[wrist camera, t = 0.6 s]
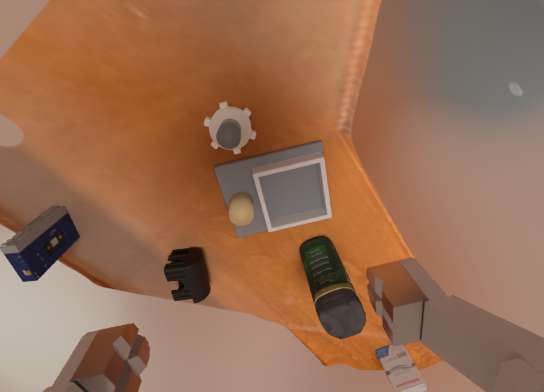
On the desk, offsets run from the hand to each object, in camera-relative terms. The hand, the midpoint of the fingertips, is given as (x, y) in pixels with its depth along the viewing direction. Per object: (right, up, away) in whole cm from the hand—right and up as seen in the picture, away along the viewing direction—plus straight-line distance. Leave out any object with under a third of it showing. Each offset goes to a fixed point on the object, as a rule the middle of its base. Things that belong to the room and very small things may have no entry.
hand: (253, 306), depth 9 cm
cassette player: (-39, -1, +41) cm, 57 cm away
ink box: (+37, -44, +71) cm, 91 cm away
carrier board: (+1, +5, +41) cm, 42 cm away
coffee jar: (+11, -9, +50) cm, 52 cm away
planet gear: (-6, +16, +35) cm, 39 cm away
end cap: (-17, -11, +48) cm, 53 cm away
